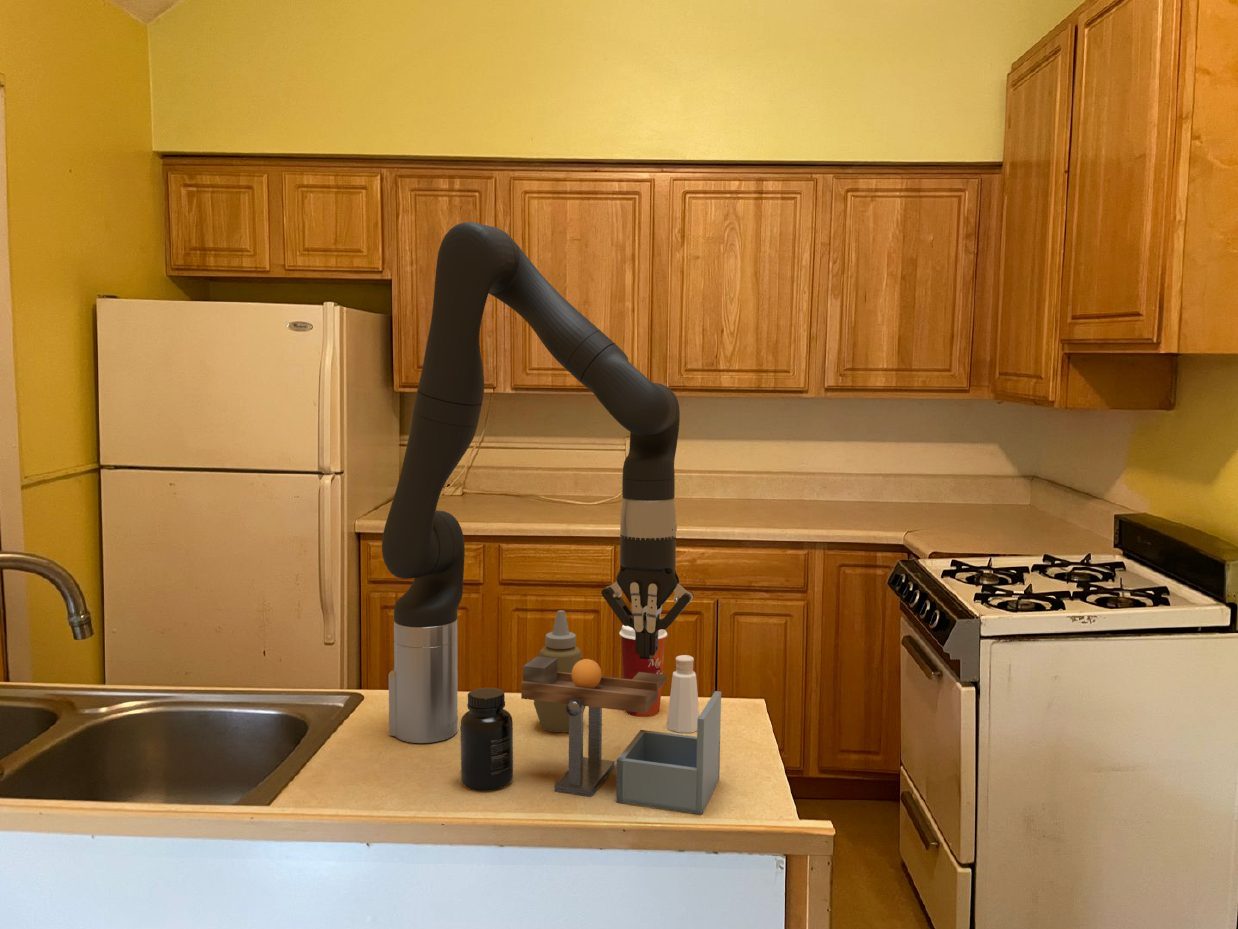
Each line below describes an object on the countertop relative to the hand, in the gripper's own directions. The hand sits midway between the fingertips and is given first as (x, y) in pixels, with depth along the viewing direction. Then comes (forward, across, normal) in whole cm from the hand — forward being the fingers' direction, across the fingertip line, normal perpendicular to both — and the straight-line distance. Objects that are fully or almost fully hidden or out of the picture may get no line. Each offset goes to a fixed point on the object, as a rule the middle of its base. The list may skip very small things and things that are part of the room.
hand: (646, 657), depth 128 cm
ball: (+1, -7, -6) cm, 9 cm away
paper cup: (+16, -7, +22) cm, 28 cm away
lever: (+4, -6, -3) cm, 8 cm away
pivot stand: (+15, -7, -6) cm, 18 cm away
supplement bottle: (+16, -19, -11) cm, 27 cm away
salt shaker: (+16, +1, +17) cm, 23 cm away
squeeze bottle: (+16, -17, +11) cm, 25 cm away
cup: (+16, +5, -6) cm, 17 cm away
